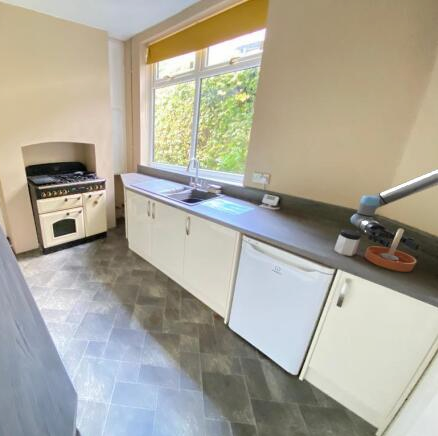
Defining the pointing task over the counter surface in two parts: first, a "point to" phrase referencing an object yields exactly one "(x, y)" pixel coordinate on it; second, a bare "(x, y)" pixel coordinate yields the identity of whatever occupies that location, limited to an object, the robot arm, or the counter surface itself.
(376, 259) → the bowl
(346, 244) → the jar
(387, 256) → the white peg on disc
